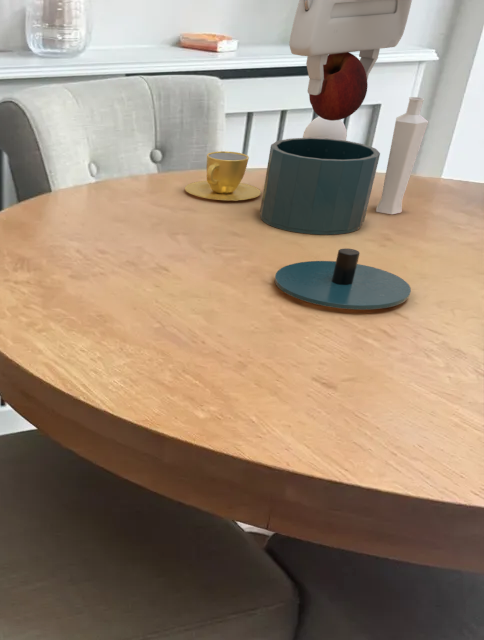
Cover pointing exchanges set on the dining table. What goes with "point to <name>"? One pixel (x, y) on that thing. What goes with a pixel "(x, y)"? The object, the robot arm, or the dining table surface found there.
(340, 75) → the apple
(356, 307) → the tin lid
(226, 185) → the cup
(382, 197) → the perfume bottle
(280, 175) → the tin
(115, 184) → the dining table surface
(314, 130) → the light bulb
